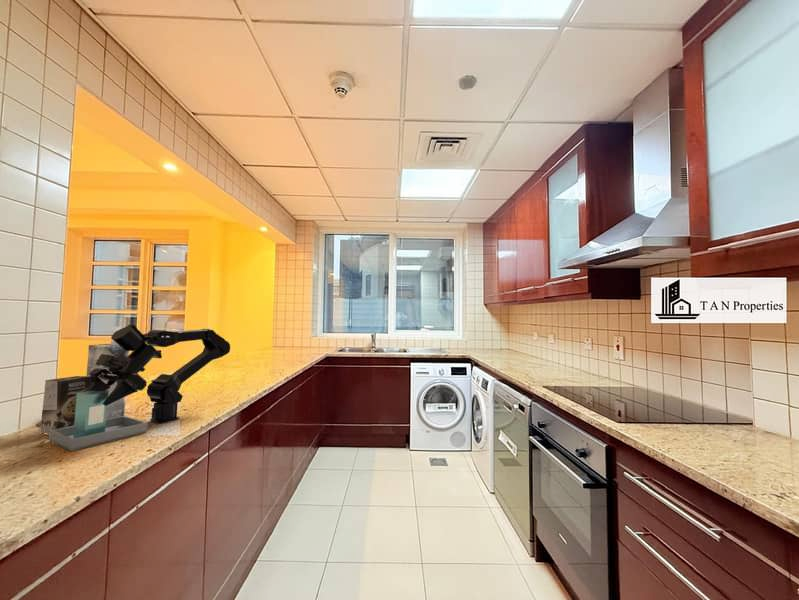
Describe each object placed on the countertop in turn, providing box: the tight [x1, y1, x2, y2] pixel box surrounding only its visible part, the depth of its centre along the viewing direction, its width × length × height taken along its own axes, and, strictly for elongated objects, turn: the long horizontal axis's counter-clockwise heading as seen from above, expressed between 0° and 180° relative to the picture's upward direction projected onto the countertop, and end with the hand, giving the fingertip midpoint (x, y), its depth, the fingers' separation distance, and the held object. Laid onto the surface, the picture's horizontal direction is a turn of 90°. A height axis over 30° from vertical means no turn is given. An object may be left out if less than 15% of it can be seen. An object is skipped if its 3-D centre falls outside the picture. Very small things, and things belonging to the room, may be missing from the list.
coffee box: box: [39, 375, 92, 434], centre depth 107 cm, size 9×6×16 cm
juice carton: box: [86, 340, 130, 419], centre depth 118 cm, size 9×10×27 cm
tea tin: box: [73, 390, 108, 439], centre depth 99 cm, size 5×5×13 cm
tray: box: [48, 415, 148, 453], centre depth 102 cm, size 18×14×3 cm
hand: (94, 403), depth 100 cm, fingers open, 9 cm apart
